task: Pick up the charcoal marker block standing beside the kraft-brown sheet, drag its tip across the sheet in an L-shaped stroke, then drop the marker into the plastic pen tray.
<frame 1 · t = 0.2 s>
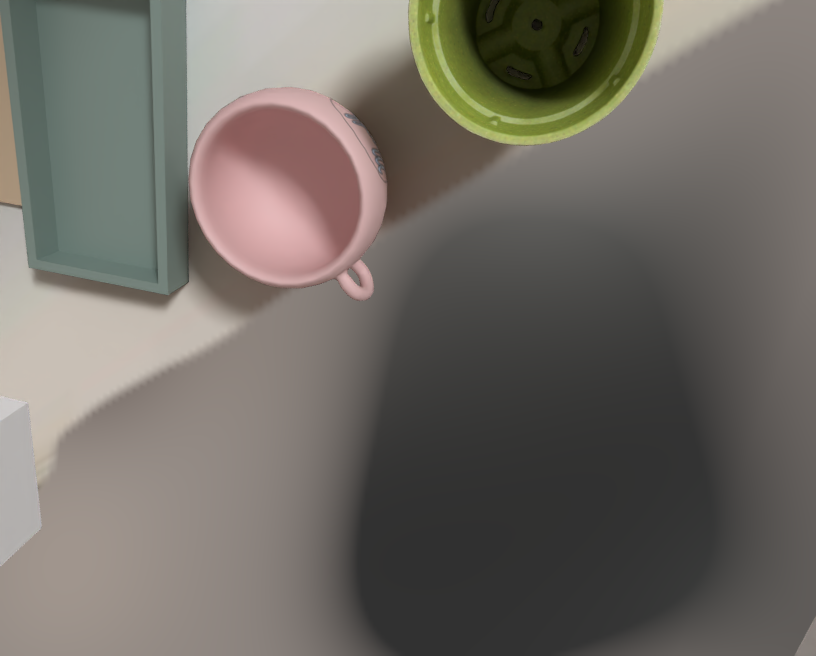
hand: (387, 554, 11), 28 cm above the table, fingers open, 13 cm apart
mug: (326, 191, 38), on the table
tray: (114, 130, 39), on the table
plant pot: (535, 24, 33), on the table
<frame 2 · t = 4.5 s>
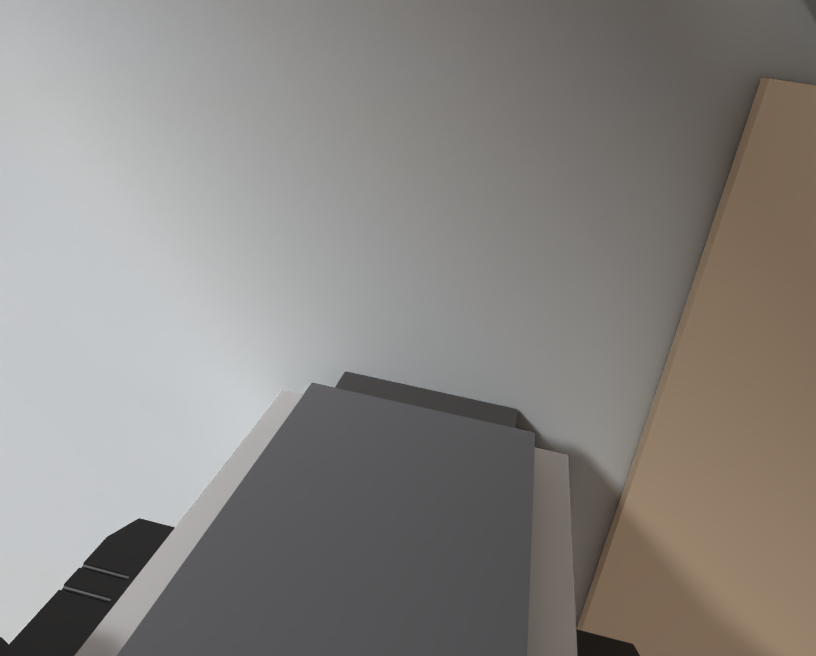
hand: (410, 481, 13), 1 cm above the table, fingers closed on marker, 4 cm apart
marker: (417, 462, 13), on the table, touching gripper
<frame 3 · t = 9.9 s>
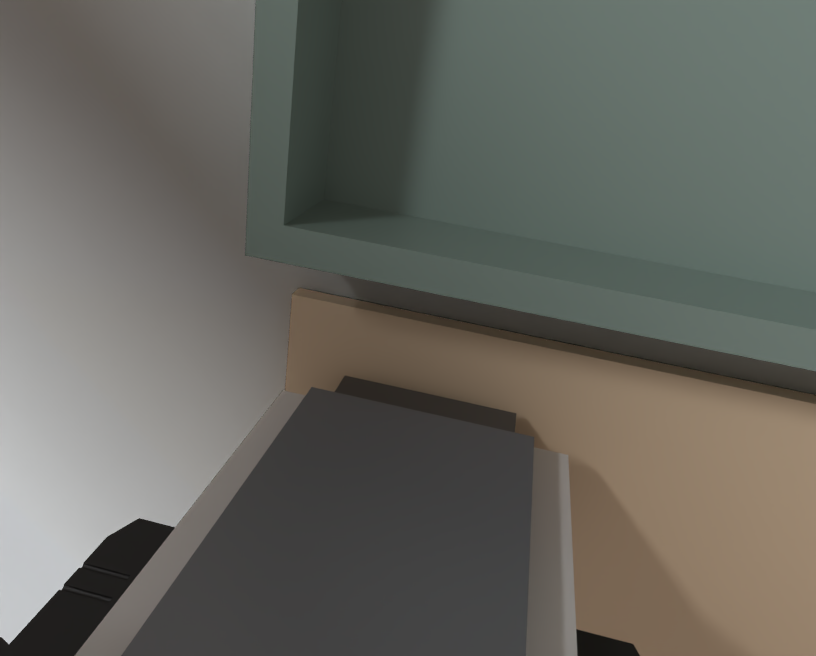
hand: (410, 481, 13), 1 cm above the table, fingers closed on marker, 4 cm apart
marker: (416, 466, 13), point 1 cm above the table, touching gripper
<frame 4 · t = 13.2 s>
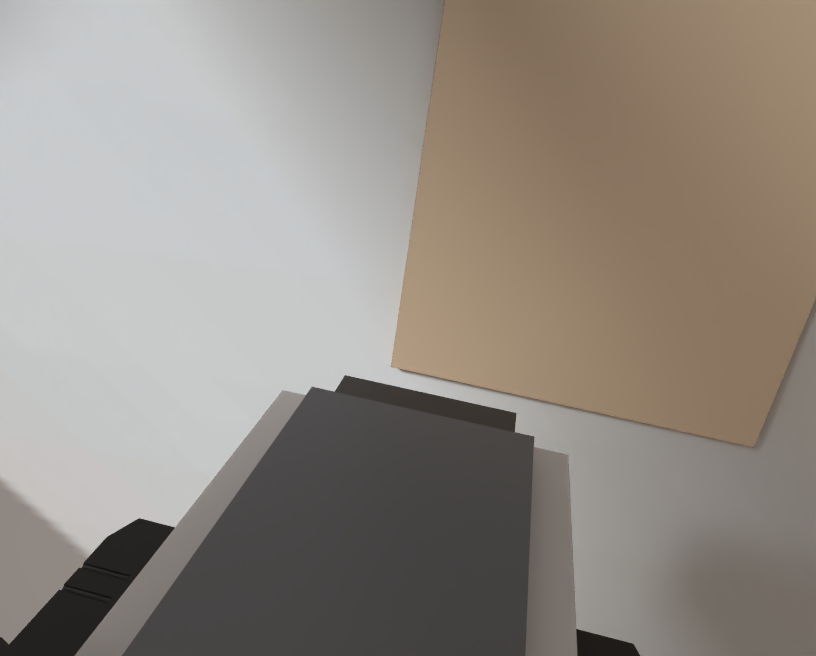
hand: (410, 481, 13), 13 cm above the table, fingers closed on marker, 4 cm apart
paper: (620, 200, 23), on the table
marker: (416, 465, 14), point 12 cm above the table, touching gripper
when the fingers open (3 cm above the table, at t = 15.8 s): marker drops 2 cm, resting on tray.
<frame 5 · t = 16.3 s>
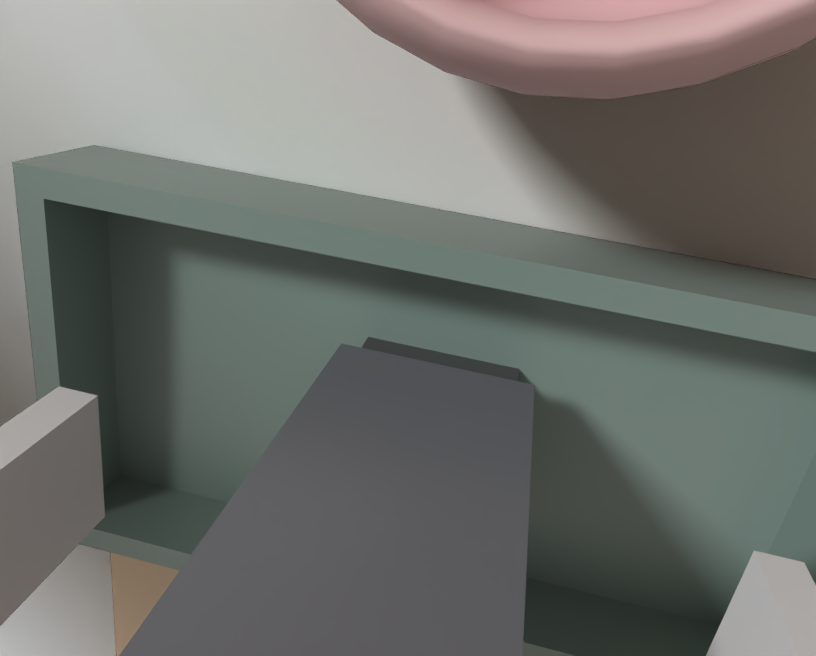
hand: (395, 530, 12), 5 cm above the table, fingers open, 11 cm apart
tray: (435, 403, 16), on the table
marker: (430, 417, 15), resting on tray
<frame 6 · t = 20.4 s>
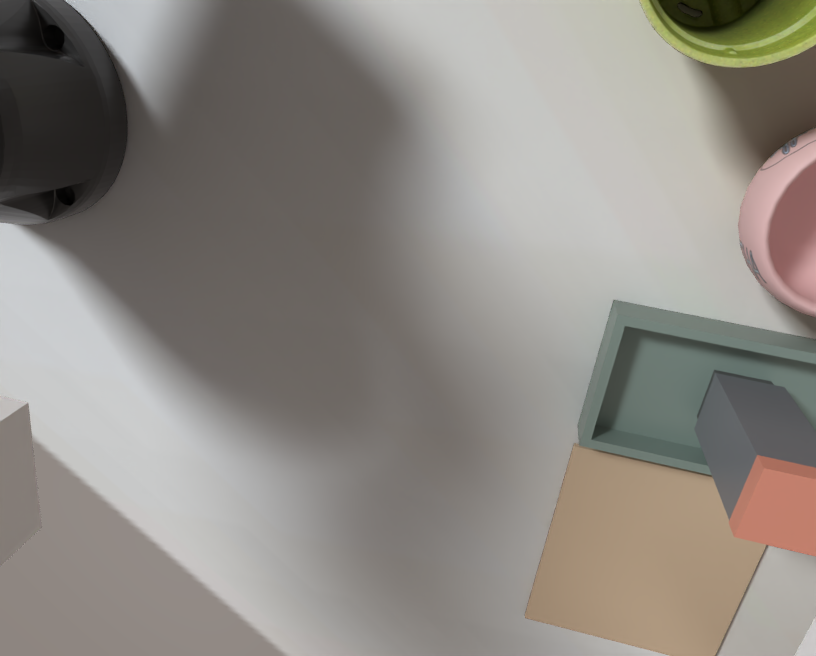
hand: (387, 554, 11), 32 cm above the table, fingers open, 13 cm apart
paper: (645, 557, 48), on the table
tray: (732, 394, 42), on the table
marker: (733, 399, 41), resting on tray
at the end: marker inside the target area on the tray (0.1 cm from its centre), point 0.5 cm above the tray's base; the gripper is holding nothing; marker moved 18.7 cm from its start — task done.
